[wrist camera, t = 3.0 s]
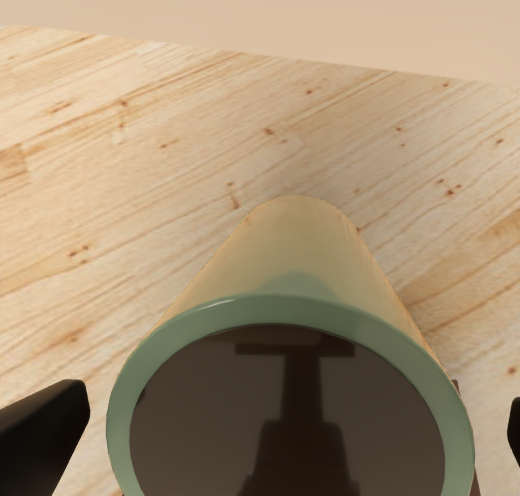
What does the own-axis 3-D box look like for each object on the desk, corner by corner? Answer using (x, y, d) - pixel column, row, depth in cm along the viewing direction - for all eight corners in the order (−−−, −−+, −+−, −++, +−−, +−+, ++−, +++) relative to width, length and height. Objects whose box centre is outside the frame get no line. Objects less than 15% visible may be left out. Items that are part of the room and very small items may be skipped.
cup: (380, 531, 14) (656, 825, 3) (215, 517, 15) (-56, 705, 4) (354, 244, 20) (412, -9, 9) (240, 245, 21) (165, 14, 10)
